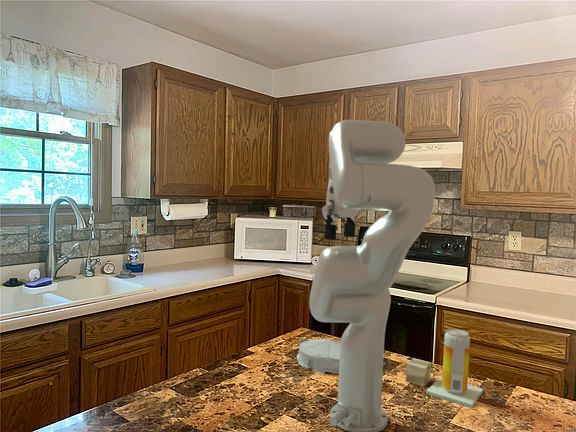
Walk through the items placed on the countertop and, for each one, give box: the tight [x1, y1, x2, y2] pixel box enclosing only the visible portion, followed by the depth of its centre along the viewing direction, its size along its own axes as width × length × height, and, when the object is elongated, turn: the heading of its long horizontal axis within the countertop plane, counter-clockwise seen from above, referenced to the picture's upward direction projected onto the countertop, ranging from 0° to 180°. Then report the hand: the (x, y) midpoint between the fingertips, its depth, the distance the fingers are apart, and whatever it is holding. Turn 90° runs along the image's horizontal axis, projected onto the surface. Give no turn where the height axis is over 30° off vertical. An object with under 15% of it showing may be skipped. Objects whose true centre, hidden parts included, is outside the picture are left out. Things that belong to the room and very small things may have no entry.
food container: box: [296, 338, 341, 375], centre depth 132 cm, size 20×20×7 cm
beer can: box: [441, 328, 471, 394], centre depth 112 cm, size 6×6×15 cm
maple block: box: [405, 357, 432, 387], centre depth 120 cm, size 5×5×5 cm
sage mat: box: [425, 376, 484, 409], centre depth 113 cm, size 11×11×1 cm
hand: (340, 238), depth 121 cm, fingers open, 9 cm apart
